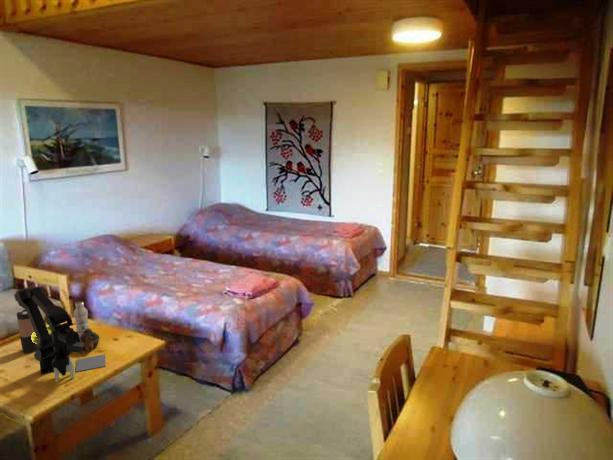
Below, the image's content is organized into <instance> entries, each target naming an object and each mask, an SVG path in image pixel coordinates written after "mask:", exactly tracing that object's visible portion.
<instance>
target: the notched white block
mask: <svg viewBox="0 0 613 460" xmlns="http://www.w3.org/2000/svg"><path fill="white" fill-rule="evenodd" d="M69 359H70V363H69V365H67V366H66V373H70V378H71V380H74V379H75V374H76V373H75V372H76V371H75V366H74V365H75V364H74V359H73V358H69ZM53 373H54V380H55V383H58V382H59V378H60V374H61V373H60V372H59V370H58V369H57V368H54V371H53ZM61 375H62V374H61Z"/></svg>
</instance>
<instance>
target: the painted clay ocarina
mask: <svg viewBox="0 0 613 460" xmlns="http://www.w3.org/2000/svg"><path fill="white" fill-rule="evenodd" d="M79 338H80V339H81V342H83V343H84V346H83V349H82V351H85V350H86V351H92V350H93V348H97V347H98V345H99V342H100V335H98V333H96V332H94V331H93V330H92V328H87V329H85V330H84V334H82V335H81V336H80V337H79Z"/></svg>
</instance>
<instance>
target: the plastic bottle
mask: <svg viewBox="0 0 613 460" xmlns="http://www.w3.org/2000/svg"><path fill="white" fill-rule="evenodd" d="M74 304H75V305H74V306H75V309H74V311H73V312H72V313H73V314H72V315H73V318H74V323H75V331H76V332H77V333H78V334H79V337H80V336H81V335H82V334H84V330H85V329H87V328H89V322H88V320H89V319H88V317H89V316H88V314H89V311H88V309H87V308H86V307H85V304H84V301H76V302H75V303H74Z"/></svg>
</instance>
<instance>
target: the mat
mask: <svg viewBox="0 0 613 460" xmlns="http://www.w3.org/2000/svg"><path fill="white" fill-rule="evenodd" d="M105 367H107V366H106V354H105V353H103V354H98V355H93V356H88V357H82V358H78V359H76V366H75V372H76V373H80V372H85V371H89V370H90V371H91V370H93V369H94V370H95V369H98V368H99V369H100V368H105Z"/></svg>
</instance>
